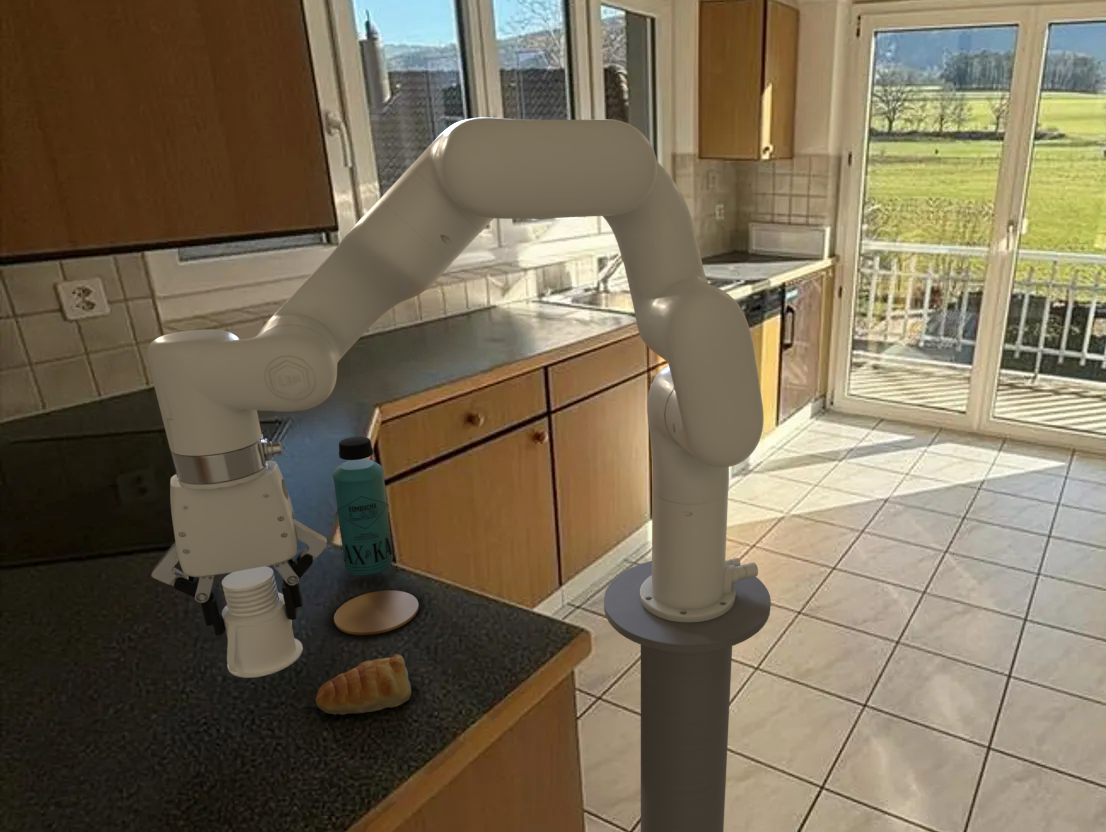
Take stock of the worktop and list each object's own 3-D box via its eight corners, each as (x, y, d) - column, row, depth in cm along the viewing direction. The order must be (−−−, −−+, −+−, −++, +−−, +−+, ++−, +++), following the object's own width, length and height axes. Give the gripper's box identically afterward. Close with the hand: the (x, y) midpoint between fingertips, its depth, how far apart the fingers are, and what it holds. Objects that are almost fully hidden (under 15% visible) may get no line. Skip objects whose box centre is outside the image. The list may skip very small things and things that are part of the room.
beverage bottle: (338, 572, 110) (318, 438, 103) (386, 557, 114) (370, 428, 108) (355, 590, 106) (335, 452, 99) (404, 575, 110) (388, 441, 103)
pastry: (320, 730, 80) (314, 699, 79) (314, 693, 86) (309, 663, 85) (416, 702, 85) (412, 673, 84) (405, 669, 90) (402, 640, 89)
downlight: (269, 633, 88) (251, 554, 84) (321, 643, 86) (305, 563, 83) (207, 675, 81) (185, 591, 77) (263, 688, 79) (243, 602, 76)
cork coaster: (414, 586, 107) (413, 584, 107) (423, 624, 99) (422, 621, 99) (333, 602, 103) (332, 599, 103) (335, 642, 95) (335, 639, 94)
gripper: (320, 435, 82) (346, 585, 89) (120, 460, 75) (164, 622, 81) (321, 460, 76) (349, 619, 82) (103, 489, 69) (152, 662, 75)
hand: (257, 619), depth 82 cm, fingers closed on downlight, 5 cm apart
